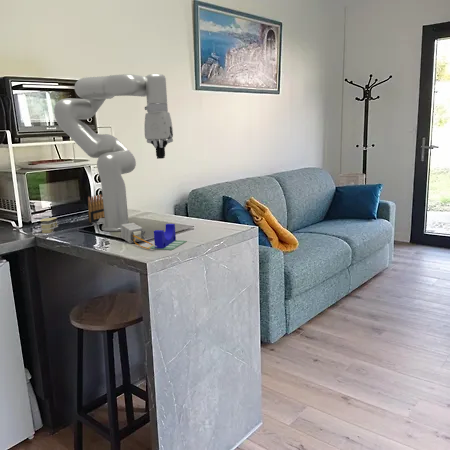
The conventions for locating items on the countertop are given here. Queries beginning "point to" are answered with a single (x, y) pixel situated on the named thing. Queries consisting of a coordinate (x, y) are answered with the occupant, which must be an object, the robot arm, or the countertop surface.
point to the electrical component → (133, 234)
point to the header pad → (170, 246)
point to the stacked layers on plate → (48, 225)
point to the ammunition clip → (95, 208)
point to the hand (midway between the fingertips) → (160, 158)
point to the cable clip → (165, 236)
